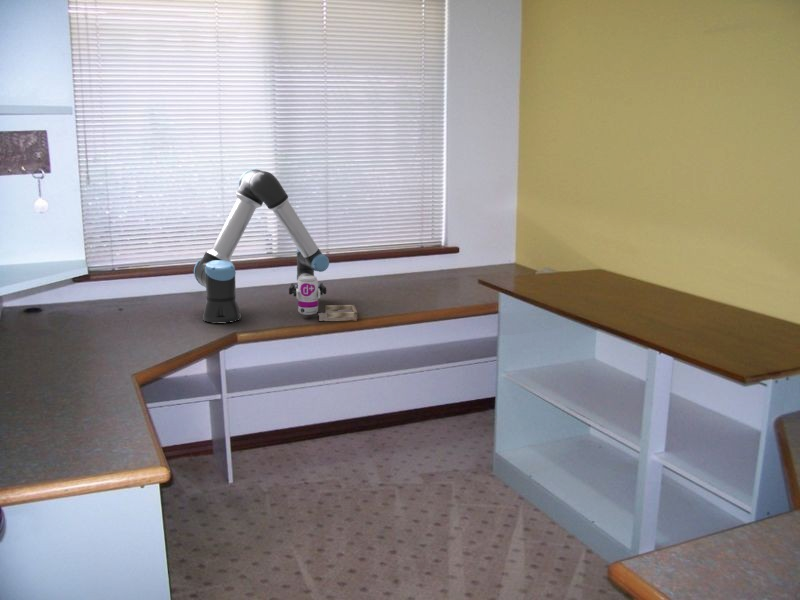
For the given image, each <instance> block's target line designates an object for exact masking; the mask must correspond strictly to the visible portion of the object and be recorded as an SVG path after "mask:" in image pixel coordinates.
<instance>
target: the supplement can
mask: <svg viewBox="0 0 800 600" xmlns="http://www.w3.org/2000/svg"><path fill="white" fill-rule="evenodd" d="M297 284H298V296H299V299H297V311H298V312H299V314H301V315H306V316H308V315H315V314H317V312H319V298H318V285H319V281H318V278H317V276H315V275H314V276H300V277H299V280H298V281H297Z"/></svg>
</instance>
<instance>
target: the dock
mask: <svg viewBox="0 0 800 600" xmlns="http://www.w3.org/2000/svg"><path fill="white" fill-rule="evenodd" d="M338 310H352V312H332V313H327V318H344V317H357V318H358V311H357V309H356V306H355V304H343V305H342V304H338V305H337V304H333V305H325V310H324V311H325V312H326V311H338Z"/></svg>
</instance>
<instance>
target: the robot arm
mask: <svg viewBox="0 0 800 600" xmlns="http://www.w3.org/2000/svg"><path fill="white" fill-rule="evenodd" d="M238 186H239V187H238V188H237V190H236V193H235V194H236V198H237V199H236V201H235V203H234V204H233V207H232V209H231V211H230V213H229V215H228V216H227V218H226V220H225V223H224V224H223V226H222V228H221V230H220V232H219V234H218V236H217V238H216V240H215V242H214V244H213V245H212V246H211V247H212V248H211V249H209V250H206V251H205V253H204V255H203V257H202V258H201V259H199V260H197V262H196V263H195V264H194V266H193V267H194V268H193V276H194V278H195V280H196V281H197V283H198V284H200V285H201V286H202V287H204V288H205V290H206V291H205V292H206V293H205V295H206V296H205V297H206V301H205V302H206V303H205V305H204V310H203V313H202V321H203V320H204V321H203V322H205V321H208V322H230V321H235V320H238V319H240V318H241V319H242V315H241V314H242V313H241V310H240V308H239V306H238V302H237V297H236V295H237V293H236V287H237V286H236V273H237V272H236V267H235V264H234V263H233V262H232V261H231V258H232V257H233V254H234V252H235V250H236V248H237V246H238V244H239V242H240V240H241V239H242V236H243V234H244V233H245V230H246V229H247V226H248V225H249V223H250V221H251V219H252V217H253V215H254V213H255V211H256V210H257V209H258V208H261V207H262V205H263V204H264V205H266V207H267V209H268V210H271V211H273V213H274V215H275V216H276V217H277V219H278V221H279V223H280V225H282V227H283V228H284V230H285V231H286V232H287V235H288V236H289V237H290V240H292V242H293V243H294V245H295V247H296V281H297V282H298V280H299V277H300V276H315V272H319V273H320V272H321V273H322V272H325V271H326V270H328V269H329V265H330V260H329V257H327V255H325V254H323V252H322V251H321V250H320V248H319V247H318V245H317V244H316V242H315V241H314V239H313V236H311V234H310V232H309V231H308V229H307V228H306V226H305V225H304V224H303V221H302V220H301V218H300V217H299V216H298V214H297V212H296V211H295V209H294V207H293V206H292V204H291V203H290V201H289V195H288V194H287V192H286V191H285V189H284V187H283V185H282V184H281V182H280V181H279V179H277V177H276V176H275V175H274V174H273V173H271V172H269V171H265V170H261V169H257V168H256V169H250V170H246V171H245V172H243V174H242V175H241V176H240V177H239V181H238ZM288 295H293V297H295V298H296V300H298V299H299V296H298V283H297V284H295V283H290V287H289V288H288ZM323 295H327V287H326V286H325V285H324V283H322V282H320V283H318V299H321V296H323ZM241 319H240V320H241Z"/></svg>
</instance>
